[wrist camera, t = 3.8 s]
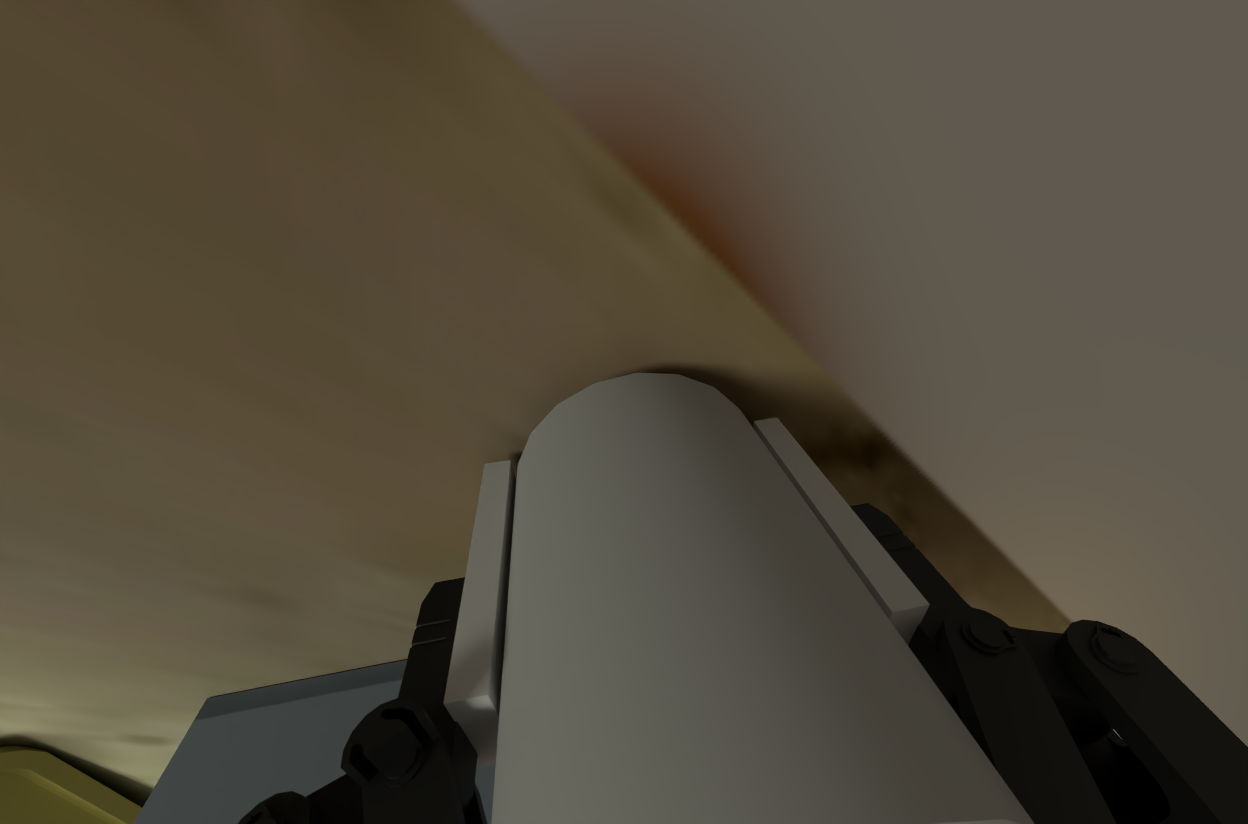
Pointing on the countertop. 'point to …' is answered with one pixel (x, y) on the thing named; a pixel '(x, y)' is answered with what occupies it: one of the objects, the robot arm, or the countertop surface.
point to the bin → (273, 746)
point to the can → (705, 639)
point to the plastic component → (55, 792)
